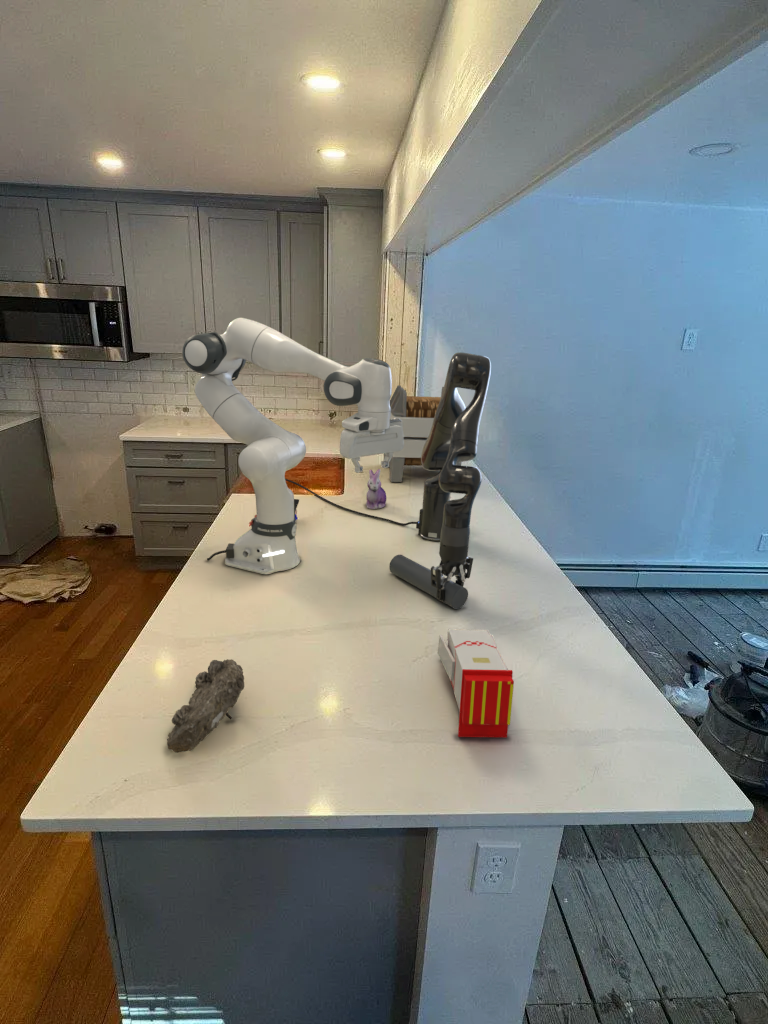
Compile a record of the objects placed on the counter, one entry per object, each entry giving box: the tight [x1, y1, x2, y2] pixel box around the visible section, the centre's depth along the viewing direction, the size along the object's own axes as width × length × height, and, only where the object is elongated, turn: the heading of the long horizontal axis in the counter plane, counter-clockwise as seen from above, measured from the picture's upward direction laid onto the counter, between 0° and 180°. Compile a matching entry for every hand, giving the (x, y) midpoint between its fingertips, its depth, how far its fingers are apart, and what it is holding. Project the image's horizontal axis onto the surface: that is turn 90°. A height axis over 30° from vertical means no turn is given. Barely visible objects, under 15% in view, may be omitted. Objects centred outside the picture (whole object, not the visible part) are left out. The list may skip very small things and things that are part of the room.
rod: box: [388, 554, 469, 610], centre depth 160 cm, size 26×6×6 cm, turn 40°
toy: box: [437, 628, 515, 738], centre depth 117 cm, size 12×13×30 cm
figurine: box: [365, 468, 387, 510], centre depth 224 cm, size 9×10×15 cm
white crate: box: [383, 384, 462, 483], centre depth 268 cm, size 34×33×41 cm
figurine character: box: [294, 498, 300, 521], centre depth 203 cm, size 7×8×15 cm
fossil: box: [166, 658, 245, 754], centre depth 106 cm, size 22×10×15 cm
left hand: (372, 469), depth 158 cm, fingers open, 8 cm apart
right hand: (449, 596), depth 154 cm, fingers closed on rod, 6 cm apart
